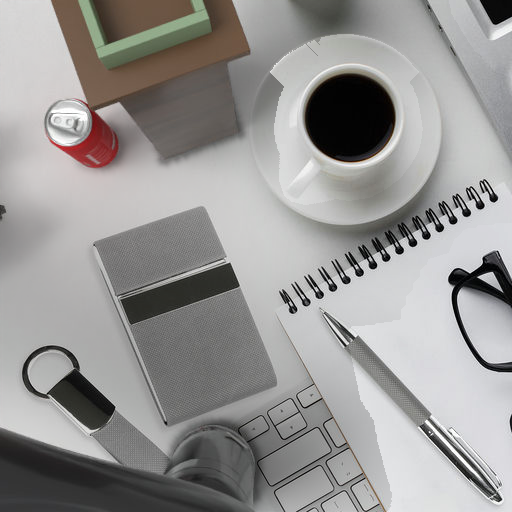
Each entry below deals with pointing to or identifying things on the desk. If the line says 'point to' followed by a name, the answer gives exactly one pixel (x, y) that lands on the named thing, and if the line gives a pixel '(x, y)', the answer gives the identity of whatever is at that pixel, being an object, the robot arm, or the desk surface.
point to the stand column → (186, 112)
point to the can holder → (146, 43)
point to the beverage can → (81, 133)
